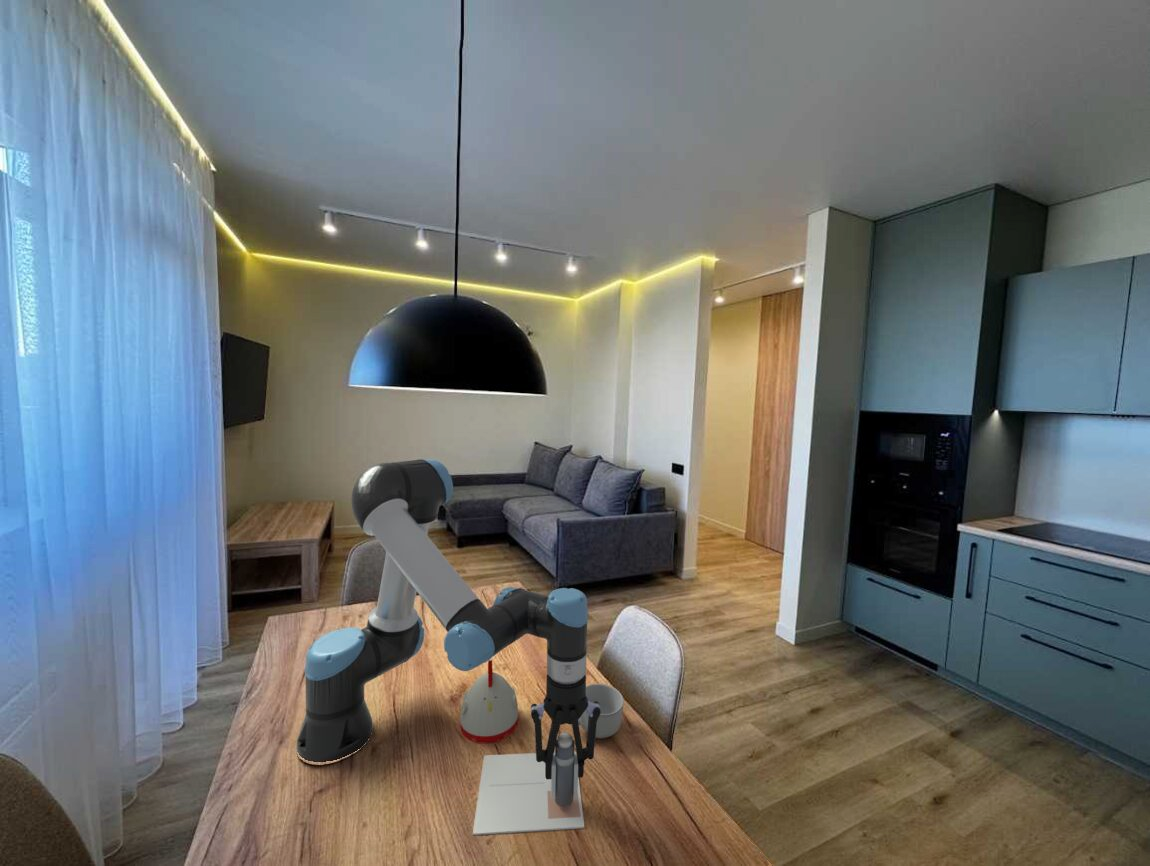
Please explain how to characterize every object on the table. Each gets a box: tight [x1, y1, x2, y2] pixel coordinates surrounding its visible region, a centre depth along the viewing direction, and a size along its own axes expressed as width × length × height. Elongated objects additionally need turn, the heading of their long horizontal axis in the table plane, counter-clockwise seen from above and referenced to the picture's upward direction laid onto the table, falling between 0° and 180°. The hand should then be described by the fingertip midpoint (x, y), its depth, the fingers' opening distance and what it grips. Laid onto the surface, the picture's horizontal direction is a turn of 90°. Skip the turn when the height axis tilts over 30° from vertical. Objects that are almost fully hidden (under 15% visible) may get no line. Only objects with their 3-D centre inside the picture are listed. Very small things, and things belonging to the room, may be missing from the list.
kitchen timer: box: [459, 659, 519, 744], centre depth 108 cm, size 14×14×15 cm
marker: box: [554, 732, 576, 807], centre depth 85 cm, size 4×4×12 cm
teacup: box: [578, 683, 625, 739], centre depth 106 cm, size 14×11×8 cm
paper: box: [472, 750, 585, 836], centre depth 89 cm, size 20×18×1 cm
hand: (563, 792), depth 85 cm, fingers closed on marker, 3 cm apart
